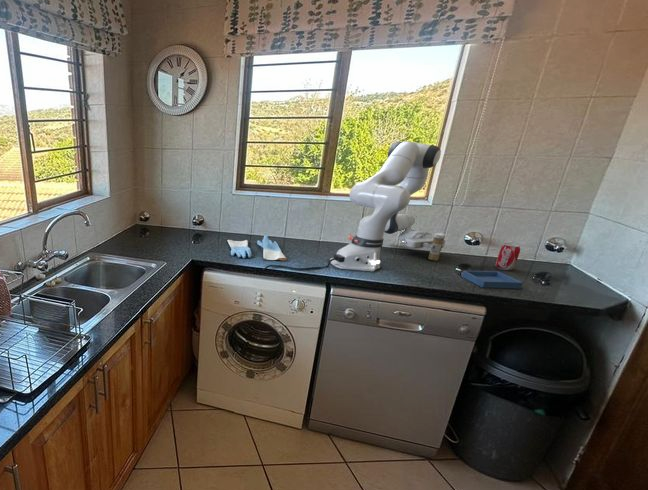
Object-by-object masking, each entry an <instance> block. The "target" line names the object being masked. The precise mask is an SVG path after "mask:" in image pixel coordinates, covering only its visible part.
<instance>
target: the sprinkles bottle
mask: <svg viewBox="0 0 648 490" xmlns="http://www.w3.org/2000/svg"><path fill="white" fill-rule="evenodd" d="M433 235H434V239H433V243H432V244H433V245H435V248H433V249H431V248H429V249H430V250H429V253H428V258H427V260H430V261H439V259H440V255H441V251H442V249H443V248H442V244H443V240H444V239H446V234H445V233H441V232H435V233H434V234H433Z"/></svg>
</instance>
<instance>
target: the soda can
mask: <svg viewBox="0 0 648 490" xmlns="http://www.w3.org/2000/svg"><path fill="white" fill-rule="evenodd" d="M520 247H521V244H516V243H513V242H512V243H510V242H505V243H503V245H502V246H501V247H500V250H499V252H498V255H497V258H496V261H495V265H494V266H495V267H496V269H498V270H501V271H511V270H514V268H515V267H516V264H517V262H518V258H519V256H520V253H521V248H520Z"/></svg>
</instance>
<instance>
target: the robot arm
mask: <svg viewBox="0 0 648 490" xmlns="http://www.w3.org/2000/svg"><path fill="white" fill-rule="evenodd" d="M441 151H442V150H441V148H440V147H439V146H438V145H434V144H426V143H423V142H422V143H421V142H415V141H411V140H406V141H396V142H394V143H392V144H391V145H390V147H389V149H388V151H387V159H386V160H385V161H384V163H383V165H382V166H381V167H380V169H379V170H378V171H377V172H376V173H375V174H373V175H372V176H371V177H369V178H367V179H365V180H362V181H360V182H356V183H355V184H354V185H352V187H351V188H350V191H349V194H348V195H349V200H350V202H351V203H352V204H355V205H357V206H360V207H365V208H372V209H374V211H373V213H372V214H369V215H365V216H364V217H362V218H361V219H360V221H359V224H358V227H357V228H358V229H357V232H356V233H357V234H356V235H355V236H353V235H348V238H347V239H348V240H350V241H351V242H350V243H348V244H347V245H344V246H343V247H341V248H339V249H338V250H337V251H336V254H333V257H331V258H329V260H328V263H327V265H325V266H311V267H292V266H287V265H282V264H269V265H266V266H264V267H263V269H262V271H265V270H266V269H268V268H271V267H273V268H285V269H290V270H297V271H306V270H307V271H308V270H315V269H319V270H320V269H325V268H328V267H330V265H332V266H334V267H335V268H338V269H341V270H349V271H350V270H351V271H361V272H376V270H380V269H381V250H382V248H383V245H384V241H385V240H384V235H385V234H387V235H388V234H393V233H395V232H397V231H401V230H404V229H405V231H404V232H402V233H401V234H400V235H399V236H398V239H399V240H400V241H401V242H402V243H403V245H404V246H406V247H408V248H411V249H424V248H425V249H433V248H435V245H433V244H432V243H433V239H434V234H433V233H431V232H425V233H424V232H423V231H420V230H412V229H411V226H412V225H413V224H414V223H415V218H414V217H413V216H412V215H409V214H398V213H400V212H402V210H403V211H404V209H406V208H407V207H408V206H409V204H410V202H411V196H412V195H414V194H415V193H417V192H419V191H421V189H423V188H424V186H425V184H426V182H427V179H428V175H429V172H430V169H431V168H433V167H435V166H436V165H437V164H438V162H439V161H440V159H441ZM402 243H401V244H402ZM445 244H446V238H444V240H443V244H442V248H441V249H443V248H444V247H445Z"/></svg>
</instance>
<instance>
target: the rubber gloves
mask: <svg viewBox="0 0 648 490" xmlns="http://www.w3.org/2000/svg"><path fill="white" fill-rule="evenodd" d="M227 244H228V245H229V247H230V249H231V250H230V255H231V257H235V254H236V256H237V258H239V259H240V258H241V257H242V259H246V257H248V258H249V259H250V258H252V250H251V248H250V247H249V241H248V239H245V240H233V239H227ZM256 244H257V245H258V246H260V247H261V248H262V250H263V254H262V257H263V260H264V261H277V260H278V261H287V260H288V258H287V257H286V255H285V254H284V253H283V252H282V249H281V248H280V246H279V244H278V242H276V240H274V241H272V240H271V239H269V236H268V235H267V234H264V235H263V238H262V240H257V241H256Z"/></svg>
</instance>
